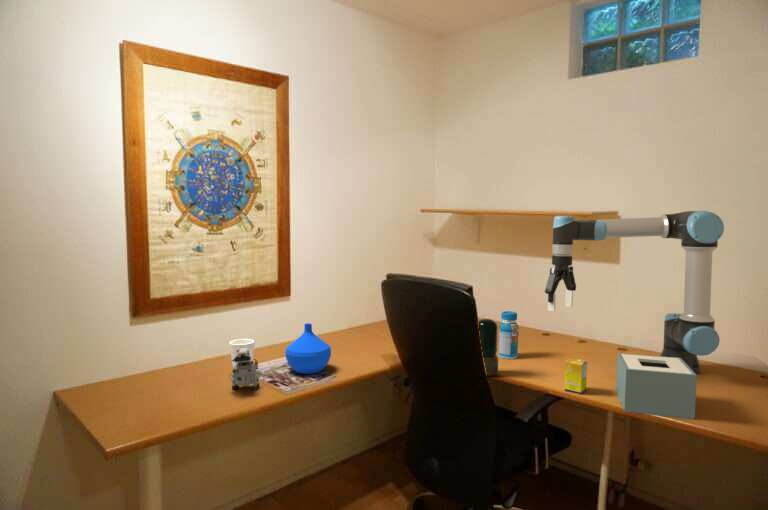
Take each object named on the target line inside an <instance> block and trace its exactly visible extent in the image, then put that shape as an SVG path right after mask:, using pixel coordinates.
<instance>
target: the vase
mask: <svg viewBox="0 0 768 510" xmlns="http://www.w3.org/2000/svg"><path fill="white" fill-rule="evenodd" d="M312 324H313V323H309V322H308V323H307V322H306V323H304V327H303V328H304V330H303V332H302V334H301V335H300V336H299V337H298V338H296V339H295V340H294V341H292V342H291V343H290V344H288V345H287V347H286V349H285V353H284V354H285V355H284V356H285V359H286V361H287V363H288V364H287V365H289V366H290V368H291V370H292V371H294V372H296V373H298V374H299V375H300V374H303V375H313V374H317V373H320V372H322V371H323V370H324V369H325V367H326V366H327V365H328V363H329V362H330V359H331V356H332V347H331V346H330V344H328V343H327V342H325V341H324V340H323V339H321V338H320V337H318V336H317V334H315V333H314V332H313V327H312V326H313V325H312Z"/></svg>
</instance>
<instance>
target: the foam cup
mask: <svg viewBox="0 0 768 510" xmlns="http://www.w3.org/2000/svg"><path fill="white" fill-rule="evenodd" d="M228 346H229V347H228V349H229V350H230V356H231V357H230V358H231V362H232V363H231V364H232V368H233V367H234V366H235V365H236V363H235V361H232V360H233V359H234V357H235V355H236V354H237V352H238V351H239V350H240V348H248V349H249V350H250V352H251V353H252V357H251V361H253V360H254V359H253V358H254V349H255V340H254V339H250V338H238V339H233V340H230V341H229V345H228ZM236 350H238V351H236Z"/></svg>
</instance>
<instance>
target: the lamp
mask: <svg viewBox="0 0 768 510" xmlns="http://www.w3.org/2000/svg"><path fill="white" fill-rule="evenodd" d="M477 322H479V331H480V340H481V347H482V352H483V358H484V363H485V368H486V372H487V375H488V376H487V377H493V376H495V375H497V374H498V372H499V357H498V355H497V353H498V330H499V329H498V324H497V322H496V321H495V320H493V319H491V318H482V319H478V321H477Z"/></svg>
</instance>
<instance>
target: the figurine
mask: <svg viewBox="0 0 768 510" xmlns="http://www.w3.org/2000/svg"><path fill="white" fill-rule="evenodd" d="M236 351H238V350H236ZM251 357H252V353H251V352H250V350H249V349H248V348H240V350H239V351H238V352H237V354H236V355H235V357H234V359H233V360H232V359H231V362H232V361H235V363H236V365H235V366H234V367H233V366H232V370H231V371H232V373H231V375H230V376H229V377H230V380H231V384H232V385H231V390H235V391H236V390H237V388H238V387H239V386H242V387H243V386H244V387H245V386H250V385H252V391H257V390H258V388H259V387H260V385H261V384H260V381H259V379H260V377H259V374H258V373H257V371H256V370H259V362H258V360H257V359H256V358H254V359H253V360H252V361H251Z"/></svg>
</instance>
